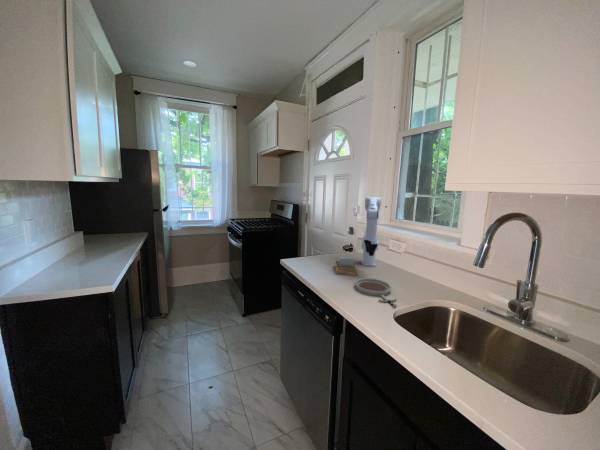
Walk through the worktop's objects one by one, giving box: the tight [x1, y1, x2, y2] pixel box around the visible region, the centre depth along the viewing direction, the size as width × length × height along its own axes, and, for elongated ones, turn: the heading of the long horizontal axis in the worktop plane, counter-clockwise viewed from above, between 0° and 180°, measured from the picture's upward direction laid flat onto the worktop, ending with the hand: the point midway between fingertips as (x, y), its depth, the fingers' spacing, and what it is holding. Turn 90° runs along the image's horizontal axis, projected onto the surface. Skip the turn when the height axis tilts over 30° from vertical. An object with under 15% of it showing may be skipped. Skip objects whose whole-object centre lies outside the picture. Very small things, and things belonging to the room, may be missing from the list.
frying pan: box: [354, 277, 397, 309], centre depth 116 cm, size 17×3×28 cm
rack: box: [334, 260, 358, 276], centre depth 146 cm, size 14×11×4 cm
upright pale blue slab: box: [338, 256, 354, 266], centre depth 146 cm, size 2×8×7 cm, turn 87°
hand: (369, 253), depth 145 cm, fingers open, 7 cm apart
